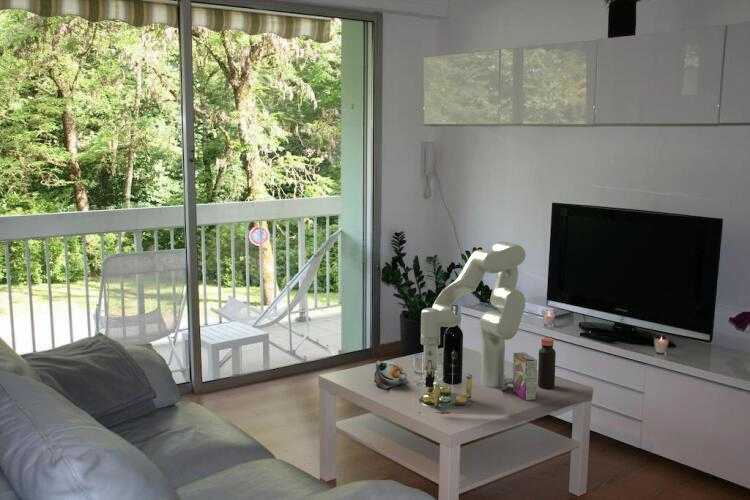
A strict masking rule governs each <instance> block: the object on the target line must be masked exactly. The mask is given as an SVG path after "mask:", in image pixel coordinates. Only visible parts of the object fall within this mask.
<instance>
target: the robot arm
mask: <svg viewBox="0 0 750 500" xmlns="http://www.w3.org/2000/svg"><path fill="white" fill-rule="evenodd" d="M525 260H526V251H525V248H523V247H522V245H519V244H517V243H516V244H515V243H512V242H511V243H510V242H508V241H495V242H494V243H492V245H491V247H490V250H486V249H475V250H474V251H473V252H471V254H470V256H469V258H468V259H467V261H466V263H465V265H464V266H463V268H462V269H461V272H459V275H458V276H457V278H456V279H455V280H454V281H452V282H451V283H450V284H448V286H447V287H445V288H444V289H443V290H442V291H441V292H440V293H439V295H438V296H437V297H436V299H435V301H434V303H433V304H432V307H426V308H423V309H422V310H421V313H420V344H421V345H422V346H423V363H424V365H423V367H424V371H426V372H425V387H426V388H428V387H434V385H433V382H435V378H436V377H435V375H436V374H435V372H436V371H437V370H438V364H439V363H438V362H439V359H438V358H439V357H438V356H439V351H438V350H439V349H438V348H439V347H438V346H440V345H441V328H442V327H444V328H446V327H447V328H453V327H456V326H458V325H459V324H460V323H461V320H462V314H461V312H460V311H459V313H458V312H457V315H455V314H454V313H453V310H452V312H451V307H452V305H453V304H454V303H455V302H456V300H458V299H460V298H461V297H463V296H466V295H468V294H472V293H474V292H475V291H476V289H477V288H478V287H479V285H480V283H481V282H482V279H483V278H484V276H485V274H486V273H488V274H496V278H495V281H494V284H493V287H492V290H491V295H490V299H489V300H490V301H489V303H490V304H491V306H492V307H494V308H496V309H499V310H500V311H501V310H502V311H501V312H499V311H496V310H488V311H485V312H483V313H482V315H481V317H480V319H479V331H480V335H481V336H480V338H481V354H480V357H481V358H480V361H481V362H480V368H481V369H480V385H482V386H484V387H487V388H500V389H501V392H504V391H507V389H508V388H509V385H513V377H512V378H507V377H506V374H505V371H506V370H505V369H506V368H505V367H506V364H505V363H506V361H505V360H506V343H505V342H506V341H507V340H508V341H509V340H512V339H513V338H514V337H515V336H516V334H517V333H518V332H519V328H520V325H521V321H522V318H523V314H524V312H525V308H526V297H525V295H524V294H523V292H522V291H520V290H519V289H516V288H517V283H518V280H519V269H518V266H520V265H521V264H522V263H523V262H524V261H525ZM431 371H432V372H431Z"/></svg>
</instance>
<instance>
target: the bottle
mask: <svg viewBox="0 0 750 500" xmlns="http://www.w3.org/2000/svg"><path fill="white" fill-rule="evenodd" d="M554 341H555V340H554V338H552V337H542V338H541V342H540V344H541V348H540V349H539V350H538V360H537V361H538V362H537V365H538V368H537V386H538V388H541V389H545V390H551V389H554V388H555V384H556V356H557V355H556V353H557V352H556V350H555V349H554V343H555V342H554Z"/></svg>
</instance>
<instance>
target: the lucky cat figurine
mask: <svg viewBox="0 0 750 500" xmlns="http://www.w3.org/2000/svg"><path fill="white" fill-rule="evenodd" d="M375 367H376V369H375V372H374V380H373V382H374V383H375V384H376V387H377V388H380V389H382V390H383V389H385V390H387V389H390V388H391V387H396V386H402V385H406V384H407V383H408V377H407V376H408V374H407V373H406V372H405V371H404V369H403V367H402V366H401V365H400V364H398V363H397V362H395V361H391V360H385V361H383V362H381V361H380V360H377V361H376V362H375Z"/></svg>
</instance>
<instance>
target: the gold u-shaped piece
mask: <svg viewBox="0 0 750 500" xmlns="http://www.w3.org/2000/svg"><path fill="white" fill-rule="evenodd" d="M431 372H432V371H431ZM439 392H440V395H442V396H449V395H451V393H452V386H450V385H439ZM427 393H428V394H430V393H434V387H427Z"/></svg>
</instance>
